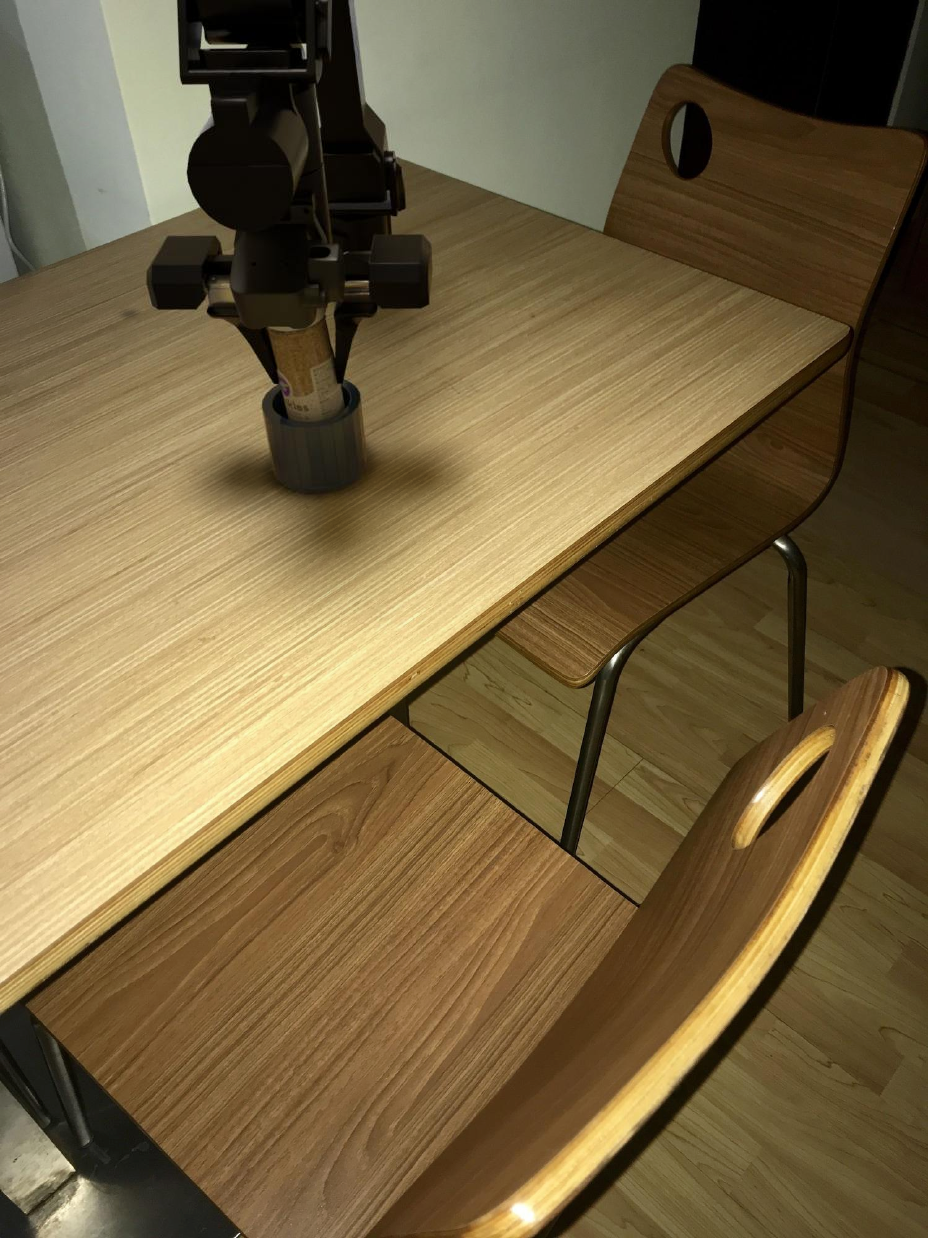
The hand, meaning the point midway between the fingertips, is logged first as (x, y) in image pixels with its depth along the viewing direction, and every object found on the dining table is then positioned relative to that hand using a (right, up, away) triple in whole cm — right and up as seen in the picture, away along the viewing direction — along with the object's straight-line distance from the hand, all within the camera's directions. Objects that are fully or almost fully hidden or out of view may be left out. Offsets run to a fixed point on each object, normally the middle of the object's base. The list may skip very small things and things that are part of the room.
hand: (308, 381), depth 73 cm
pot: (0, -5, +5) cm, 8 cm away
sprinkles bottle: (+1, -5, +4) cm, 6 cm away
